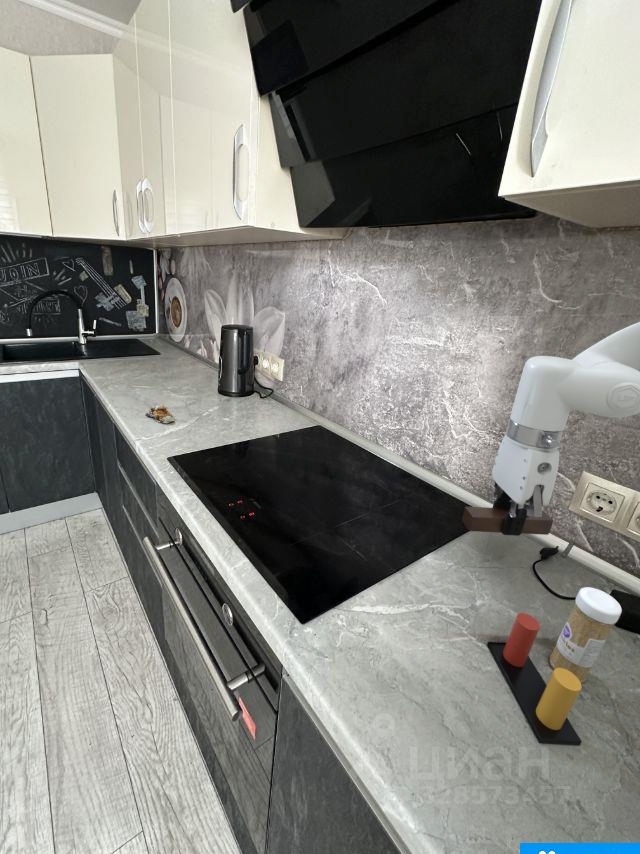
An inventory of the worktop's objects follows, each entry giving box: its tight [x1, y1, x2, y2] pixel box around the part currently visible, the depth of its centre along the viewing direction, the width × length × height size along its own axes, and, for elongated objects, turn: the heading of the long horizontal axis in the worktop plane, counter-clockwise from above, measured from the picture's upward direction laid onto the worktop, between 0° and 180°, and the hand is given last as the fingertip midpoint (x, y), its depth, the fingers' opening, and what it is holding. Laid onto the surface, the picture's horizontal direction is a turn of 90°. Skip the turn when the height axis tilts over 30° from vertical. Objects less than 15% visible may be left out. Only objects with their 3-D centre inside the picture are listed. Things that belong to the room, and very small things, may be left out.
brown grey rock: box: [145, 405, 176, 424], centre depth 133 cm, size 7×12×4 cm, turn 49°
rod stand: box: [486, 612, 583, 746], centre depth 51 cm, size 5×13×8 cm, turn 179°
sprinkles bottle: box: [548, 586, 623, 684], centre depth 53 cm, size 5×5×13 cm
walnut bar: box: [461, 506, 554, 536], centre depth 69 cm, size 14×3×3 cm, turn 89°
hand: (504, 526), depth 69 cm, fingers closed on walnut bar, 3 cm apart
